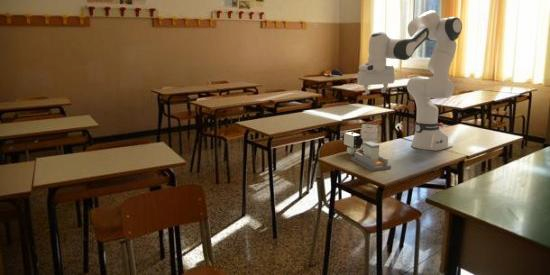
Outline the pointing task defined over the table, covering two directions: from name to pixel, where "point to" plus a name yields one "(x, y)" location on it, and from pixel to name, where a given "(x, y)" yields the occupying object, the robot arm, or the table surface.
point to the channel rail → (370, 162)
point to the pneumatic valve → (352, 141)
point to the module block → (371, 150)
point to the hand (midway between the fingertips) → (375, 93)
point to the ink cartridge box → (368, 134)
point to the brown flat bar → (378, 163)
